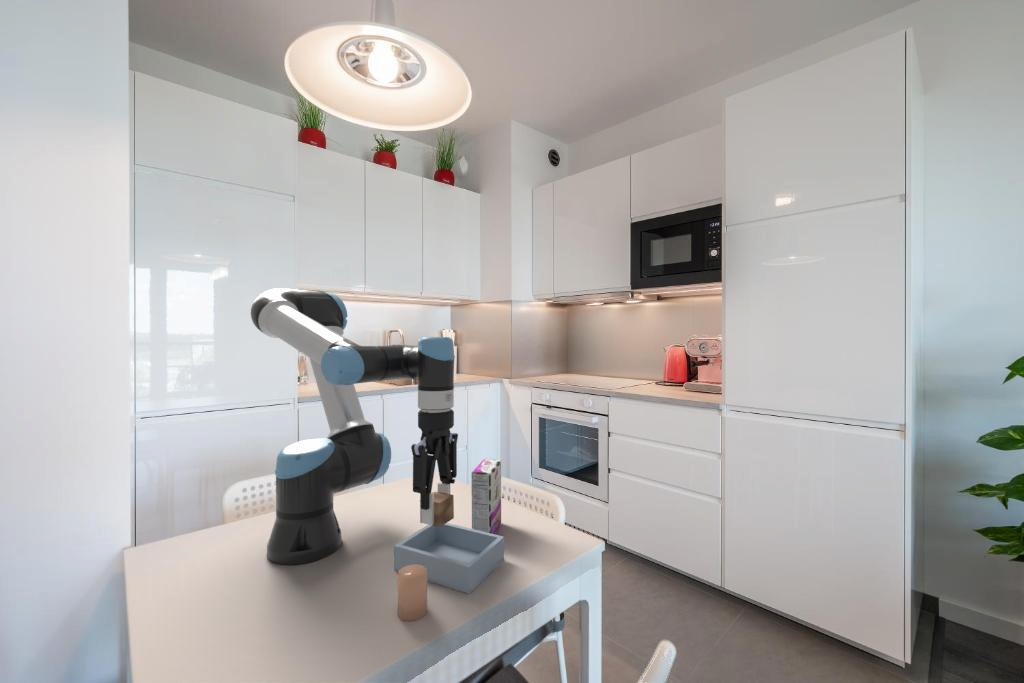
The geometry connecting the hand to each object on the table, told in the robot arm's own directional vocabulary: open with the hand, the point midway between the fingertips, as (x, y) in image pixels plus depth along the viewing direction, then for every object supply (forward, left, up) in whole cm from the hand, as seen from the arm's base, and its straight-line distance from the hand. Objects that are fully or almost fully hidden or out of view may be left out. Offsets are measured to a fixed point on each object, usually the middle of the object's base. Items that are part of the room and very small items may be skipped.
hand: (435, 518), depth 94 cm
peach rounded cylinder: (+7, -16, -9) cm, 20 cm away
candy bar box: (+3, +17, -9) cm, 20 cm away
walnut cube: (0, 0, 0) cm, 1 cm away
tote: (+4, 0, -9) cm, 10 cm away
